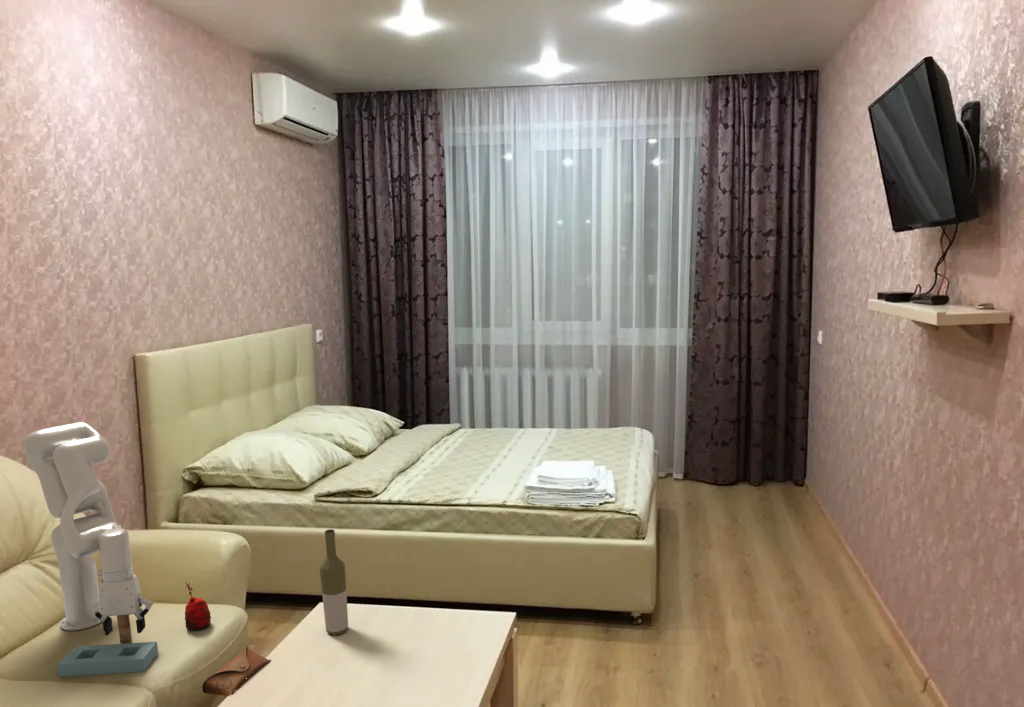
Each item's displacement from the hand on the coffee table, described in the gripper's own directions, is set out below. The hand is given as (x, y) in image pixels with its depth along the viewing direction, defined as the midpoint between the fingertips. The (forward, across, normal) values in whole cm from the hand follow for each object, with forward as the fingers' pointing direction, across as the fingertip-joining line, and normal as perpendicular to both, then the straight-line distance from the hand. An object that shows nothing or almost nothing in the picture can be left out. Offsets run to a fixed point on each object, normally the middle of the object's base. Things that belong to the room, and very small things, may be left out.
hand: (125, 631), depth 216 cm
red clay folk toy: (+4, +17, +9) cm, 19 cm away
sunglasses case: (+5, +37, -19) cm, 42 cm away
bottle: (+5, +59, +1) cm, 59 cm away
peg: (+4, 0, 0) cm, 4 cm away
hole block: (+4, 0, -10) cm, 11 cm away
